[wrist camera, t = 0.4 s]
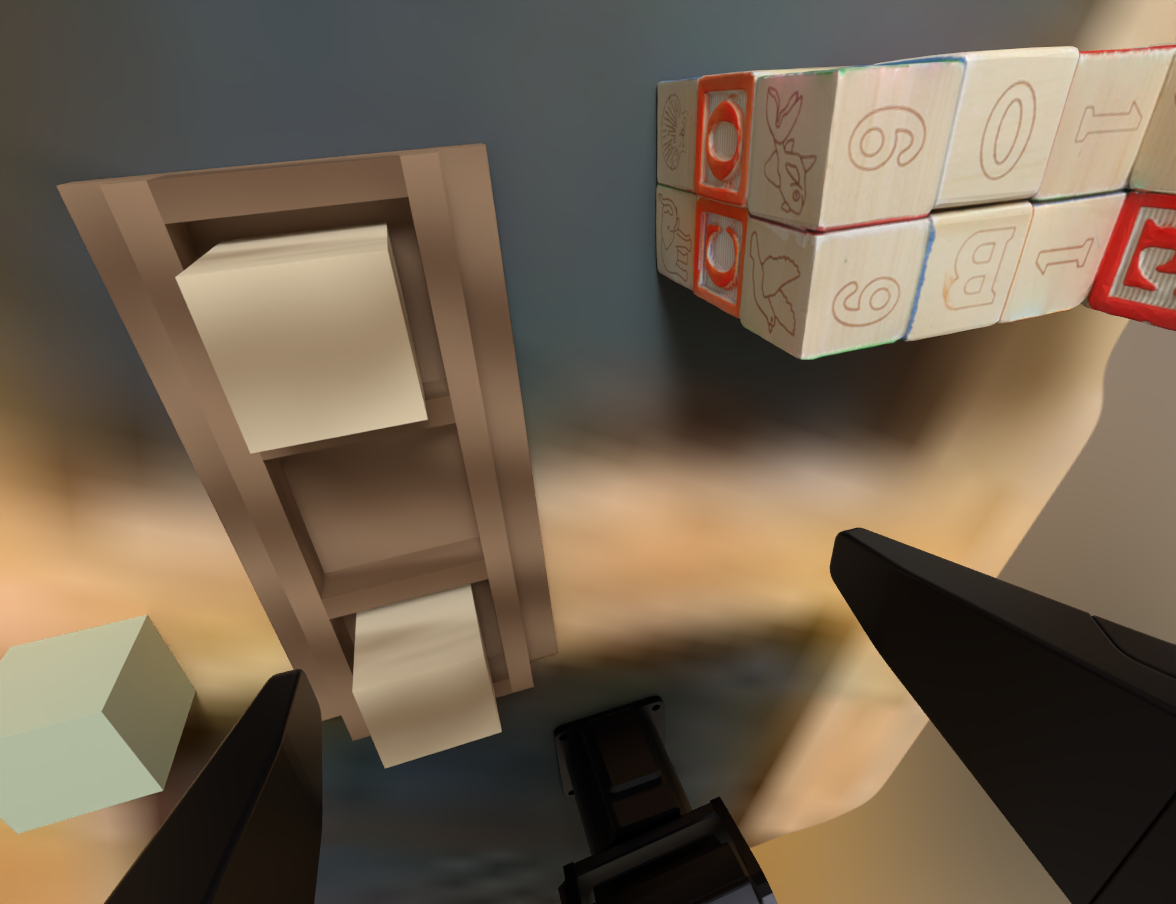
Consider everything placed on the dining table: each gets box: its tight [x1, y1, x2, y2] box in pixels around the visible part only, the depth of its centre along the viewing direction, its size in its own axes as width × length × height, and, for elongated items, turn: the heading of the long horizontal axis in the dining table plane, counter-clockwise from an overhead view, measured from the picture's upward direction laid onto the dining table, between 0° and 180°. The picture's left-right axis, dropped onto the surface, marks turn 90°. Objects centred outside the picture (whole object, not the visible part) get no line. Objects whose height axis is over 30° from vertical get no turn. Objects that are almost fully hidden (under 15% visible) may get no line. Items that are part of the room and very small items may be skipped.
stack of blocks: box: [656, 43, 1176, 360], centre depth 18 cm, size 21×6×12 cm, turn 93°
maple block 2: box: [352, 583, 502, 768], centre depth 24 cm, size 4×4×4 cm
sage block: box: [0, 615, 196, 834], centre depth 21 cm, size 4×4×4 cm
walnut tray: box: [57, 143, 557, 741], centre depth 22 cm, size 22×11×2 cm, turn 4°
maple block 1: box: [175, 221, 428, 454], centre depth 16 cm, size 4×4×4 cm
